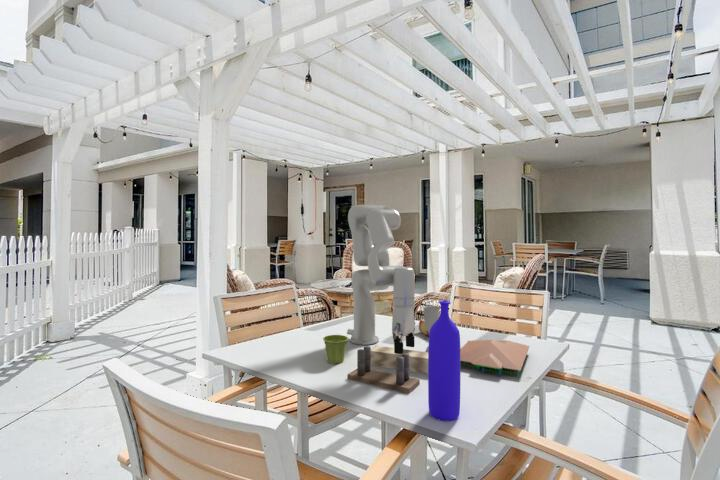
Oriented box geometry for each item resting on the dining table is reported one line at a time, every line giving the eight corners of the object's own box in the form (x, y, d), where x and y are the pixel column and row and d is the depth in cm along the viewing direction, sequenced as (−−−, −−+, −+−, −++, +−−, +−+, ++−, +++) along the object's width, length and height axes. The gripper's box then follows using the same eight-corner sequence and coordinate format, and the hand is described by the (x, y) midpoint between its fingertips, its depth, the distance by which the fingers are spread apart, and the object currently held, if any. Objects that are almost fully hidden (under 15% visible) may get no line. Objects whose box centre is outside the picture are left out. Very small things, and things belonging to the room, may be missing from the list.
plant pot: (351, 358, 144) (351, 336, 144) (342, 367, 135) (342, 342, 135) (329, 356, 147) (329, 333, 147) (318, 364, 138) (318, 340, 138)
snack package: (454, 343, 164) (454, 328, 164) (440, 345, 162) (441, 329, 162) (430, 331, 184) (430, 317, 184) (417, 332, 182) (418, 318, 182)
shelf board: (369, 365, 137) (369, 350, 137) (375, 360, 143) (375, 345, 143) (434, 375, 128) (435, 359, 128) (438, 369, 134) (438, 353, 134)
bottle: (424, 407, 104) (424, 298, 103) (454, 406, 104) (454, 298, 104) (433, 422, 95) (433, 304, 95) (464, 421, 96) (465, 303, 96)
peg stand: (347, 378, 124) (347, 350, 124) (360, 371, 131) (360, 343, 131) (409, 393, 113) (409, 361, 112) (419, 384, 120) (419, 354, 119)
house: (449, 370, 133) (449, 347, 132) (470, 345, 161) (471, 326, 161) (519, 383, 121) (519, 358, 121) (529, 354, 150) (529, 333, 150)
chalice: (440, 356, 147) (440, 309, 146) (422, 354, 148) (422, 309, 148) (439, 350, 154) (440, 306, 154) (423, 349, 155) (423, 305, 155)
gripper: (404, 298, 144) (405, 343, 144) (383, 304, 129) (384, 354, 129) (422, 299, 140) (423, 345, 140) (403, 306, 125) (404, 358, 125)
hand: (404, 350), depth 135 cm, fingers open, 9 cm apart
